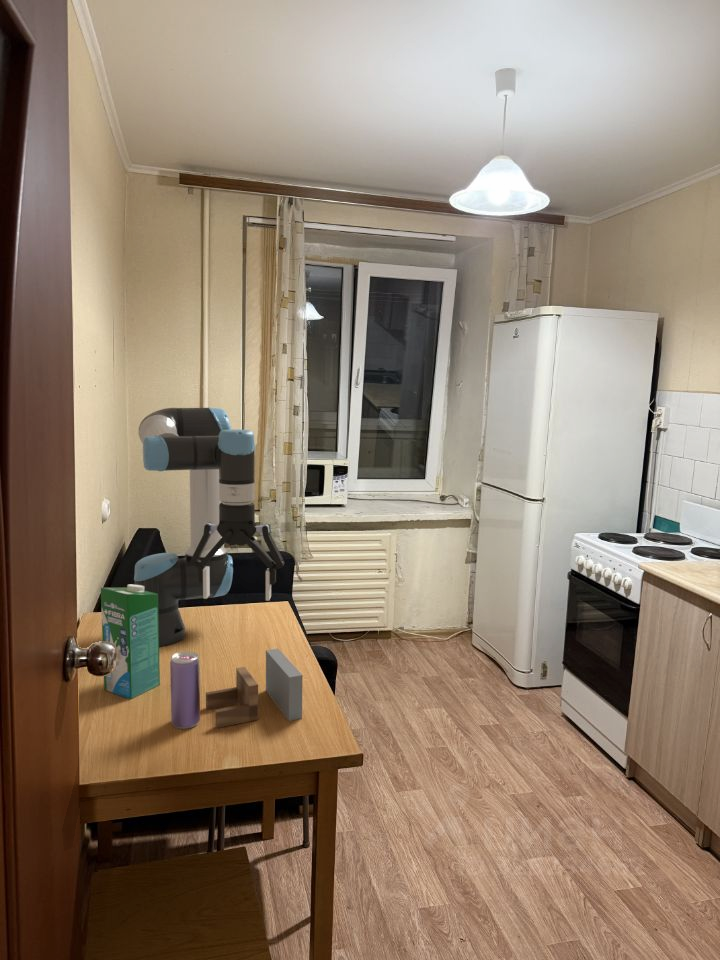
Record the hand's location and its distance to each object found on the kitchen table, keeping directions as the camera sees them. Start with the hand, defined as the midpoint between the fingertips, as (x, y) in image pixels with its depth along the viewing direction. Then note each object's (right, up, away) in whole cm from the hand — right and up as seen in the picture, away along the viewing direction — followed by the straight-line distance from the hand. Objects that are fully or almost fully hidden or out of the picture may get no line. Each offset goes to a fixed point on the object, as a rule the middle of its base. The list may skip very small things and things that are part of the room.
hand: (237, 597), depth 150 cm
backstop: (+9, -25, +7) cm, 28 cm away
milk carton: (-27, -24, +13) cm, 39 cm away
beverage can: (-11, -26, -3) cm, 29 cm away
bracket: (-2, -26, +1) cm, 26 cm away
